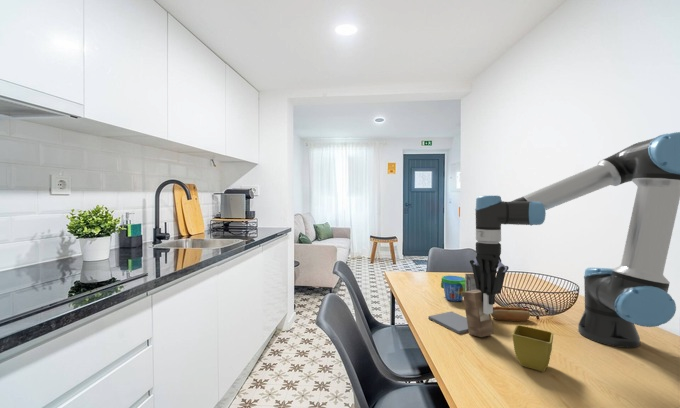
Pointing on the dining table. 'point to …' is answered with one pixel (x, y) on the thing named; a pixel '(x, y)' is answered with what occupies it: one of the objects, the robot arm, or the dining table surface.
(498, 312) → the food
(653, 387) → the dining table surface
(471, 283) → the coffee box
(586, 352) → the dining table surface
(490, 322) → the walnut block
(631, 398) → the dining table surface
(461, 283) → the snack cup
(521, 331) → the flower pot
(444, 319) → the mat
